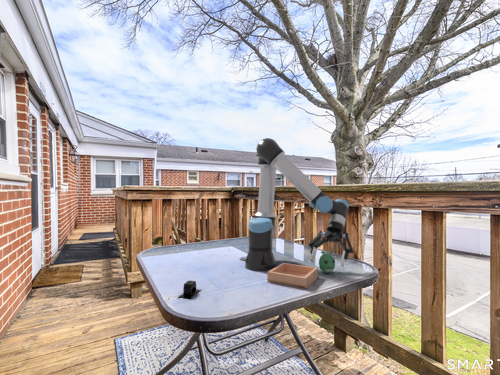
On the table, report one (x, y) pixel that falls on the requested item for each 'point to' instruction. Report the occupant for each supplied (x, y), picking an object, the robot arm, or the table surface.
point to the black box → (189, 290)
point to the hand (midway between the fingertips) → (326, 262)
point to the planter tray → (293, 275)
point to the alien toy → (327, 262)
